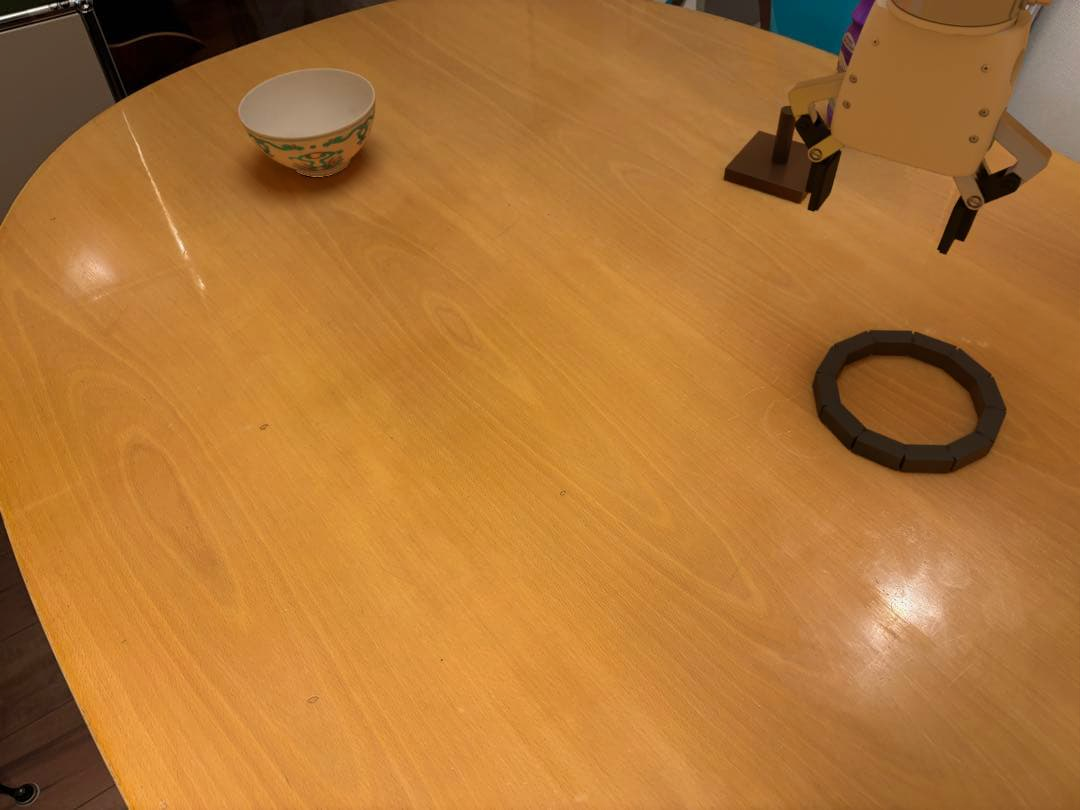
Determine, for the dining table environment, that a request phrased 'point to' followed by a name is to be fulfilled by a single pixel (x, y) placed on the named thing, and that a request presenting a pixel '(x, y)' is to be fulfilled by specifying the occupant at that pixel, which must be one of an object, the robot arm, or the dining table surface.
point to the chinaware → (310, 118)
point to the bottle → (850, 44)
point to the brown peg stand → (773, 162)
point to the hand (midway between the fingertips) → (881, 222)
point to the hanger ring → (890, 449)
